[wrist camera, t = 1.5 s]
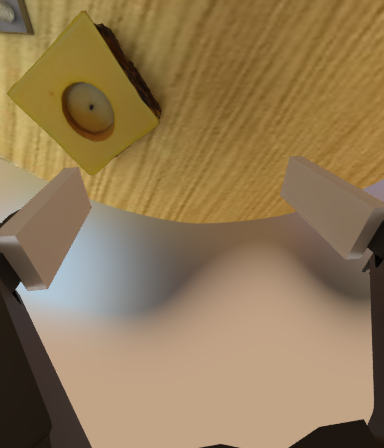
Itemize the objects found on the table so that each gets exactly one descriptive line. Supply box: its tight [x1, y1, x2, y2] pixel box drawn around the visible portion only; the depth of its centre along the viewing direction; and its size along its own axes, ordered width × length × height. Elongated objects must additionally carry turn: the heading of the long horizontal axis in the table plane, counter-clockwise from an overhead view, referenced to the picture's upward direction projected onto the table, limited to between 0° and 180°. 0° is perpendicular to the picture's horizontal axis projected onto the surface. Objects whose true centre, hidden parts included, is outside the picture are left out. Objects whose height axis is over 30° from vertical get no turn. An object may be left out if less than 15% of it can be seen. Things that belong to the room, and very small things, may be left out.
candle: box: [7, 11, 161, 176], centre depth 24 cm, size 10×10×10 cm
